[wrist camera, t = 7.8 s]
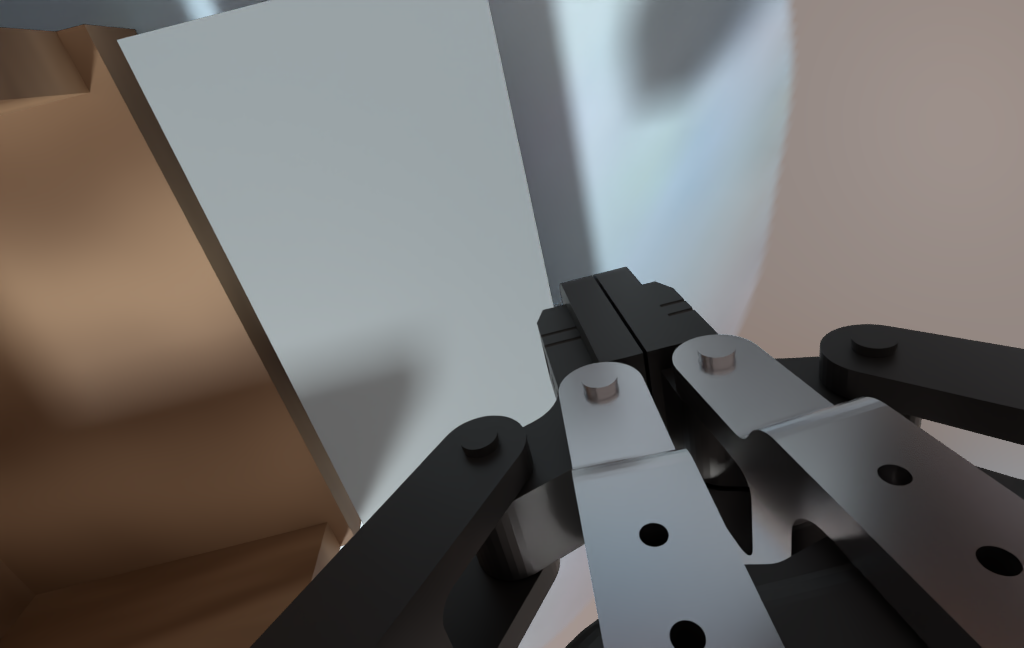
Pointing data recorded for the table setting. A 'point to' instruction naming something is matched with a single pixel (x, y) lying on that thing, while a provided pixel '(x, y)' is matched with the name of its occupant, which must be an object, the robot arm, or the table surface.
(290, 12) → the panel
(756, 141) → the table surface
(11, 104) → the pickup bed
